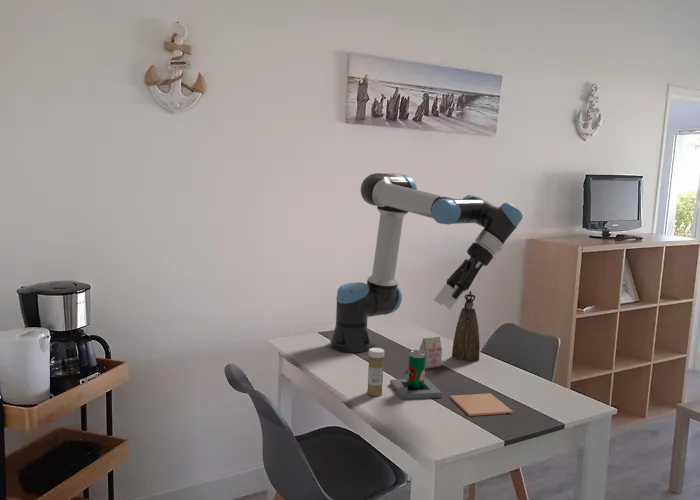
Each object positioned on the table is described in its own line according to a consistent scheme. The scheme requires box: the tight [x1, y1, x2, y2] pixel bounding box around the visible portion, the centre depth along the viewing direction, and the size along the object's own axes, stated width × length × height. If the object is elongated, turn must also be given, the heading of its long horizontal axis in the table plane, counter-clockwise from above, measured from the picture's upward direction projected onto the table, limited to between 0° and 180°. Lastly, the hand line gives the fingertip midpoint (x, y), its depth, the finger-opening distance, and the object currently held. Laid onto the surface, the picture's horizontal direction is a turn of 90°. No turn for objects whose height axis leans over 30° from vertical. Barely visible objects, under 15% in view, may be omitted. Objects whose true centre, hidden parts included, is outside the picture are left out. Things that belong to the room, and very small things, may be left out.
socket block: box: [389, 377, 443, 400], centre depth 172 cm, size 12×12×2 cm
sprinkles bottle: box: [366, 347, 385, 397], centre depth 167 cm, size 5×5×13 cm
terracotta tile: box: [449, 393, 514, 417], centre depth 163 cm, size 13×13×1 cm
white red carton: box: [418, 336, 443, 370], centre depth 195 cm, size 4×7×10 cm, turn 118°
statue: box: [451, 290, 480, 362], centre depth 204 cm, size 9×8×25 cm
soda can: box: [406, 349, 426, 391], centre depth 171 cm, size 5×5×12 cm
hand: (441, 304), depth 173 cm, fingers open, 13 cm apart
